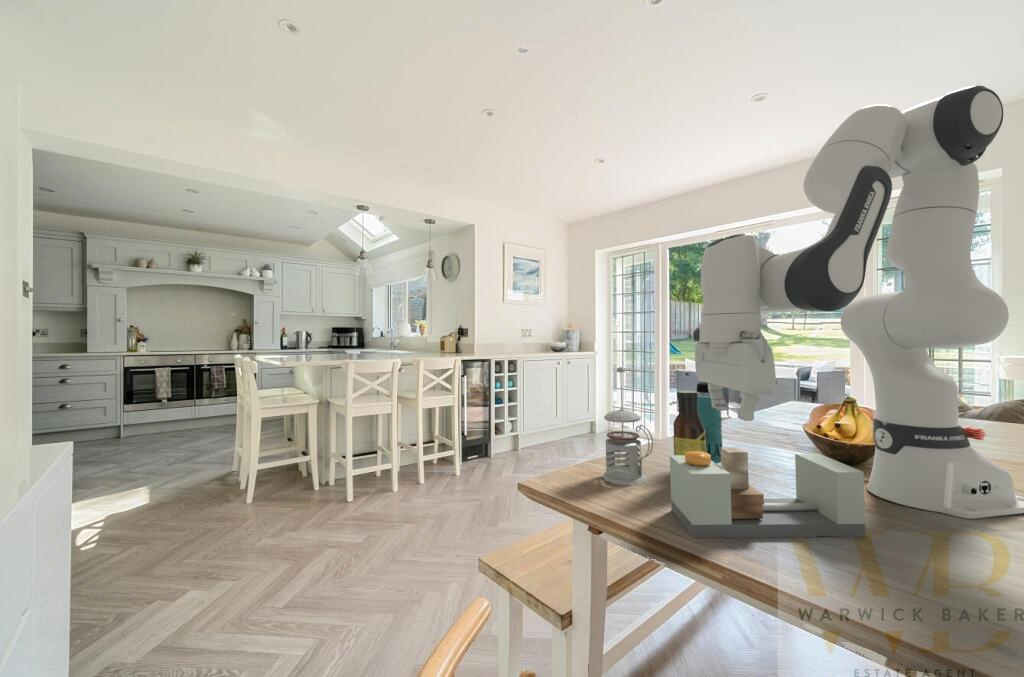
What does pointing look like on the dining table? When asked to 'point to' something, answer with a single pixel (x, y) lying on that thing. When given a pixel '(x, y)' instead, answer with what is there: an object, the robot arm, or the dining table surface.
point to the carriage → (741, 485)
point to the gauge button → (697, 458)
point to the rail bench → (772, 501)
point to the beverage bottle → (710, 423)
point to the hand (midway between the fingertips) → (731, 414)
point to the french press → (624, 449)
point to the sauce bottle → (688, 425)
